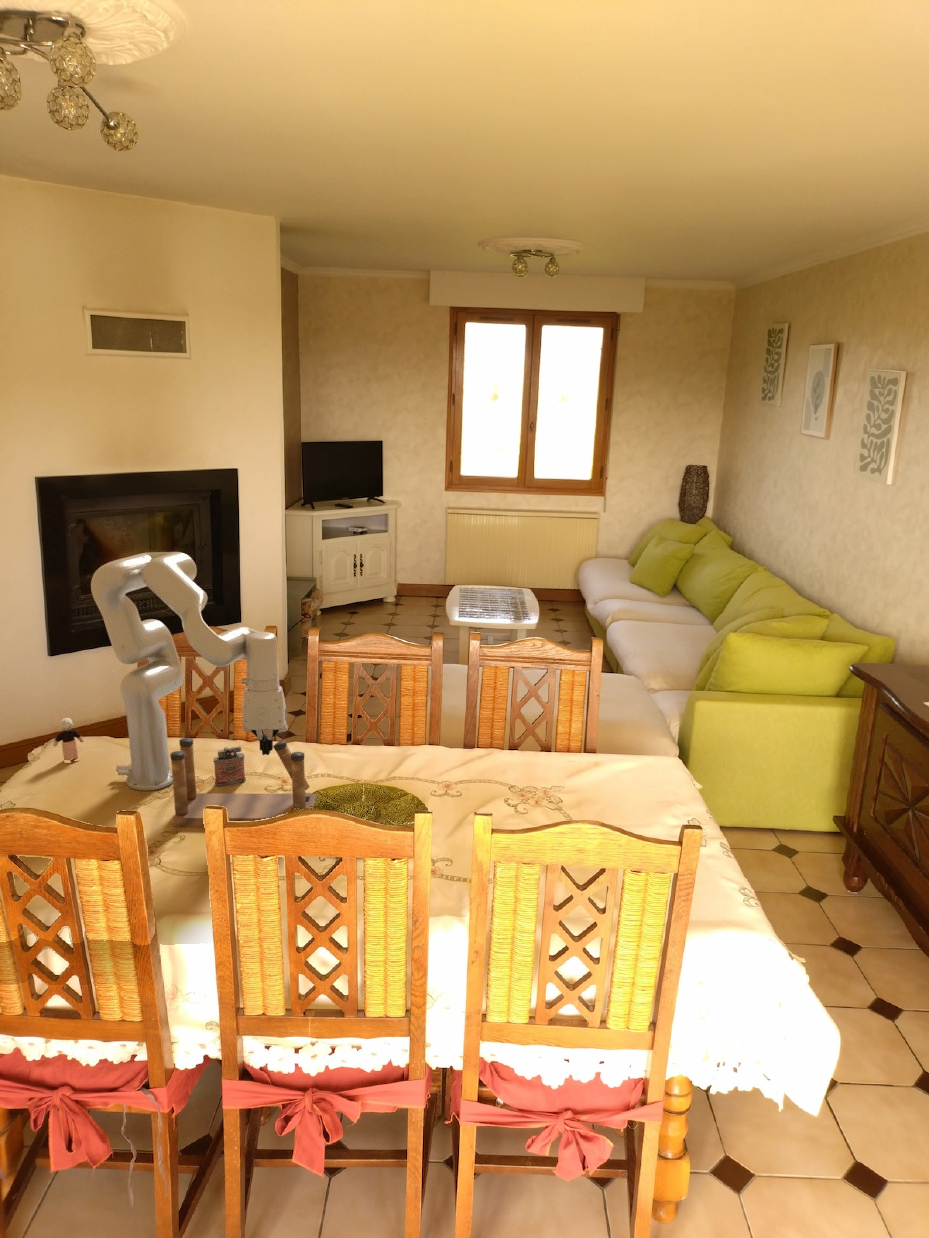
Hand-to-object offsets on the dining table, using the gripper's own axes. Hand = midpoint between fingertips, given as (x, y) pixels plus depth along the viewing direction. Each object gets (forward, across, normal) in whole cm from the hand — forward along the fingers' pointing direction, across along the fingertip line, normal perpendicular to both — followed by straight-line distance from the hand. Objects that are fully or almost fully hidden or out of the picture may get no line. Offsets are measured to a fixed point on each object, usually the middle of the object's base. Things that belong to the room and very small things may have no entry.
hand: (266, 752), depth 233 cm
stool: (+15, -5, -4) cm, 16 cm away
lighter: (+15, -13, +14) cm, 24 cm away
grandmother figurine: (+15, -60, +26) cm, 67 cm away
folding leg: (+4, +5, 0) cm, 6 cm away
